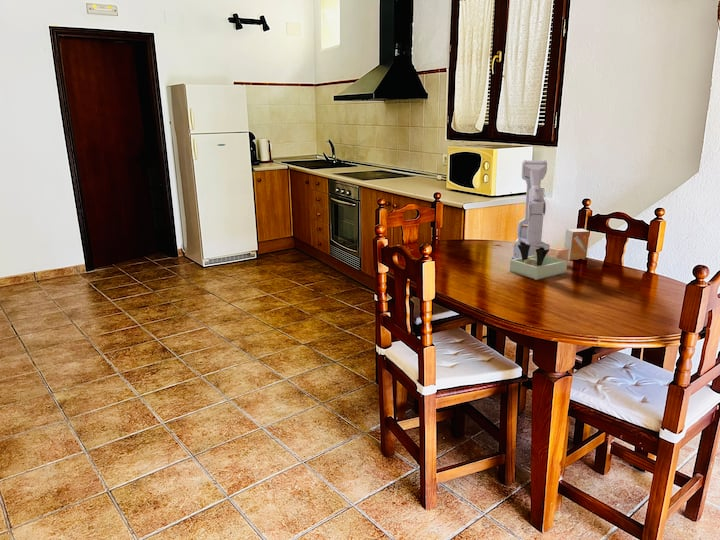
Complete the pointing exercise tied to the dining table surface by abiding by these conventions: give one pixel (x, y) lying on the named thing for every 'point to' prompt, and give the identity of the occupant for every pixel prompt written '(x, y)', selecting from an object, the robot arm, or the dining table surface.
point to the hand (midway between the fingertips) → (531, 263)
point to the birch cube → (531, 262)
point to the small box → (576, 243)
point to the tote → (547, 268)
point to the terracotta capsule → (562, 254)
